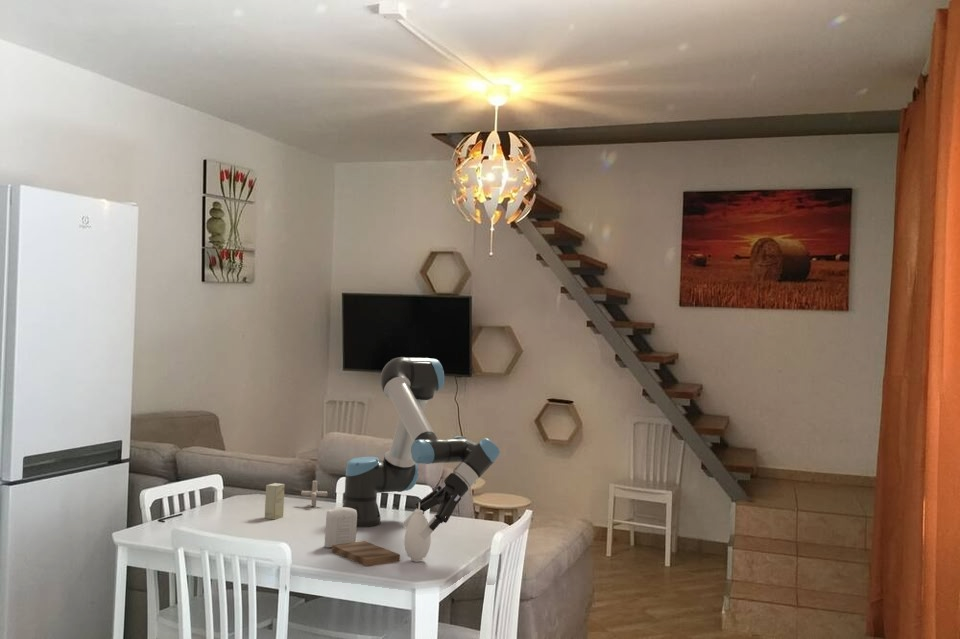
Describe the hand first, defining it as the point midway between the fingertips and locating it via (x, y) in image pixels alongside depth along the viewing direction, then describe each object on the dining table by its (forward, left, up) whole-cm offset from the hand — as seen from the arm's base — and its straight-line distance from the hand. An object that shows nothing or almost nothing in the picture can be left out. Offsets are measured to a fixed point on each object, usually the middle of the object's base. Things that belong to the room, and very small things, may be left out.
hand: (413, 531), depth 257 cm
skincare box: (-77, -8, -9) cm, 78 cm away
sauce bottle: (0, +2, -9) cm, 10 cm away
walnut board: (-13, -9, -9) cm, 18 cm away
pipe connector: (-89, +15, -9) cm, 91 cm away
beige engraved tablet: (-28, -9, -9) cm, 31 cm away
